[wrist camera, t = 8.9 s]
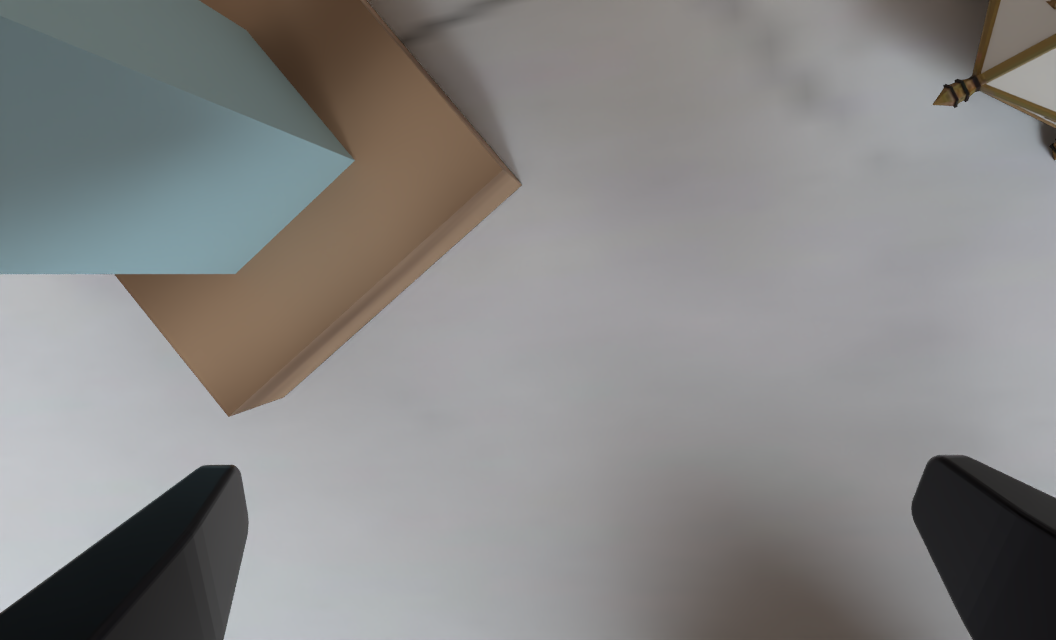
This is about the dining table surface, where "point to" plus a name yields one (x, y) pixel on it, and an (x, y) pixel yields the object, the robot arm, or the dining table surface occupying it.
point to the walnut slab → (332, 207)
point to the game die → (1014, 60)
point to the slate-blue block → (147, 140)
